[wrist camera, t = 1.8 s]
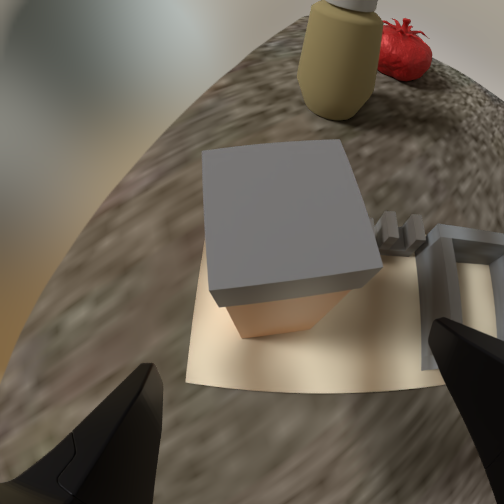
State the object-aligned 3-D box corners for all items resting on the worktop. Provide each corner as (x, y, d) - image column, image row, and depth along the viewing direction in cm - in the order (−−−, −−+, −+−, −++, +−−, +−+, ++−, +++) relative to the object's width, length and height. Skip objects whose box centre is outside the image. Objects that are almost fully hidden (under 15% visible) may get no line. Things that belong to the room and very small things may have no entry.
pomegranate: (430, 78, 33) (449, 33, 25) (408, 96, 30) (431, 41, 22) (378, 47, 36) (390, 2, 27) (348, 60, 33) (360, 5, 25)
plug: (312, 331, 19) (383, 267, 8) (239, 341, 19) (208, 290, 8) (300, 263, 21) (339, 139, 10) (232, 271, 21) (201, 151, 9)
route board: (487, 247, 22) (517, 223, 17) (499, 373, 17) (537, 366, 12) (210, 224, 23) (199, 186, 19) (189, 382, 18) (167, 383, 14)
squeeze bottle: (289, 84, 30) (297, -57, 14) (354, 87, 30) (382, -42, 14) (300, 127, 27) (317, -47, 11) (374, 131, 27) (423, -22, 11)
